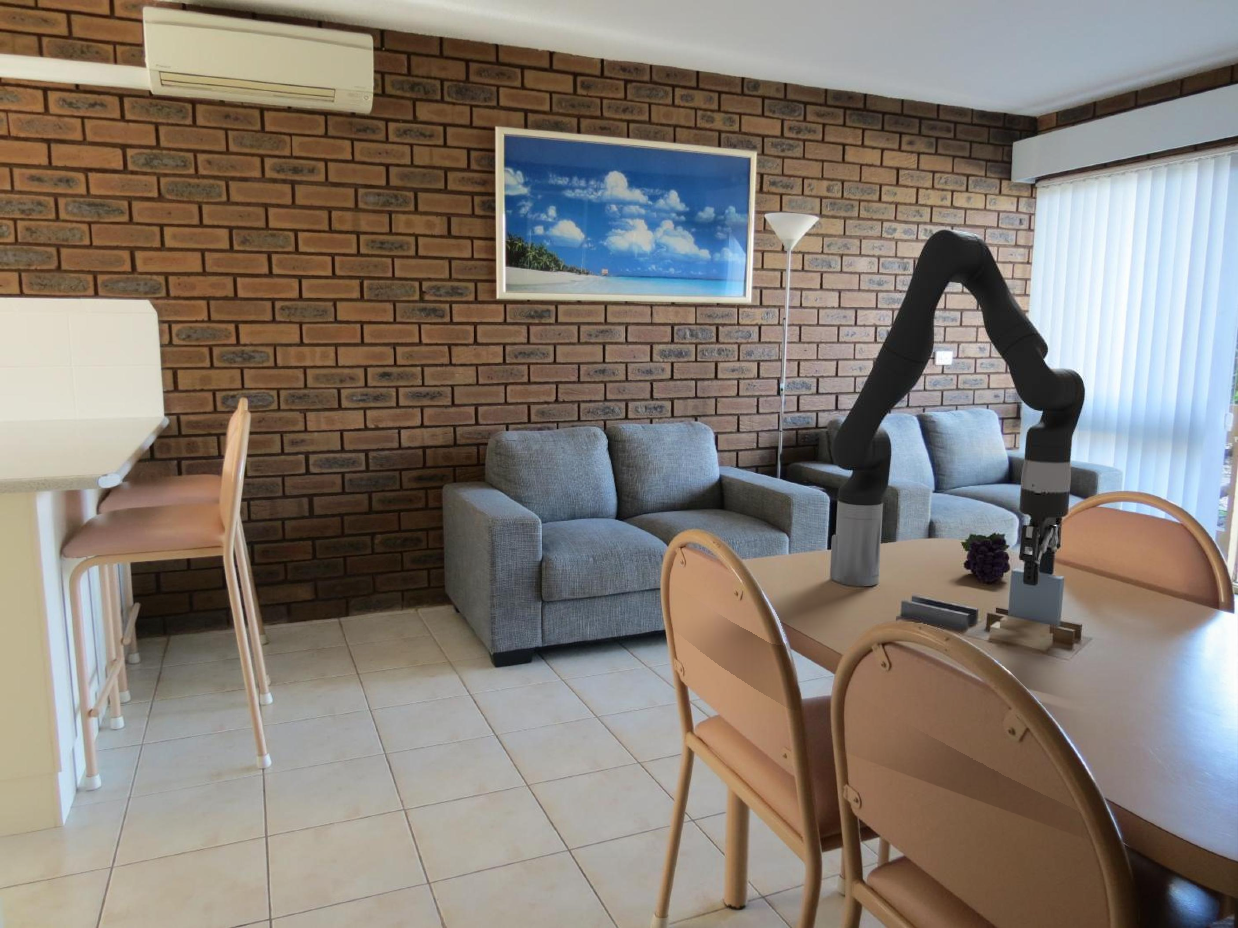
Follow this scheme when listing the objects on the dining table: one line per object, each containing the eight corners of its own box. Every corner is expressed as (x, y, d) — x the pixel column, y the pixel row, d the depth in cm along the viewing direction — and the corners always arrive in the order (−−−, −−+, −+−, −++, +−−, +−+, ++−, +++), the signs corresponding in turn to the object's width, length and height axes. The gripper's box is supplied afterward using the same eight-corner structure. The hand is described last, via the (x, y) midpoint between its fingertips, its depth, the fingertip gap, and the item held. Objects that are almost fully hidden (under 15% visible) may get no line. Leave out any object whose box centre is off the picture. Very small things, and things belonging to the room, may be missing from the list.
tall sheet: (1006, 627, 154) (1011, 570, 152) (1010, 625, 155) (1015, 567, 154) (1055, 638, 148) (1061, 579, 147) (1059, 636, 150) (1064, 576, 148)
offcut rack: (961, 639, 150) (962, 620, 150) (990, 621, 160) (992, 602, 160) (1068, 665, 139) (1070, 644, 138) (1092, 643, 149) (1094, 623, 149)
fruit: (973, 598, 185) (957, 563, 199) (1026, 593, 183) (1006, 558, 197) (971, 556, 181) (954, 523, 195) (1025, 550, 179) (1004, 518, 193)
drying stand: (896, 621, 160) (897, 602, 159) (916, 610, 166) (918, 592, 166) (961, 637, 152) (963, 617, 151) (980, 624, 158) (982, 606, 158)
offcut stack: (989, 637, 149) (990, 617, 148) (996, 632, 151) (998, 613, 151) (1045, 650, 143) (1047, 630, 142) (1052, 645, 145) (1053, 624, 145)
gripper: (1035, 479, 156) (1028, 568, 158) (1007, 489, 145) (1001, 583, 148) (1081, 484, 151) (1073, 575, 153) (1056, 494, 140) (1048, 592, 143)
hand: (1038, 579), depth 150 cm, fingers open, 8 cm apart
